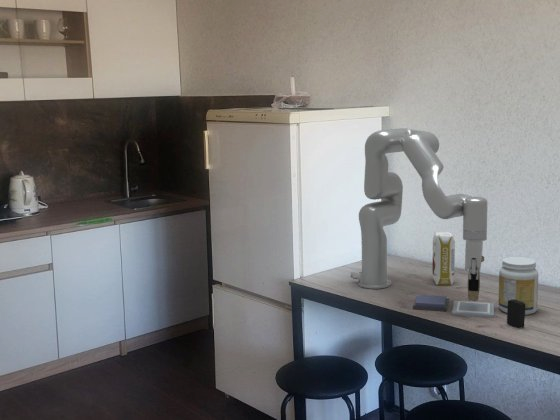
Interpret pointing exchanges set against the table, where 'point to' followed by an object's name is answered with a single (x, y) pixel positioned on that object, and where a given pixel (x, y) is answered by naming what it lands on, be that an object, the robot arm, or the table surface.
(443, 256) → the juice carton
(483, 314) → the marked board
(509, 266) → the supplement tub
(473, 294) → the handle
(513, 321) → the ink cartridge
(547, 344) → the table surface
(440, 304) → the ink pad
